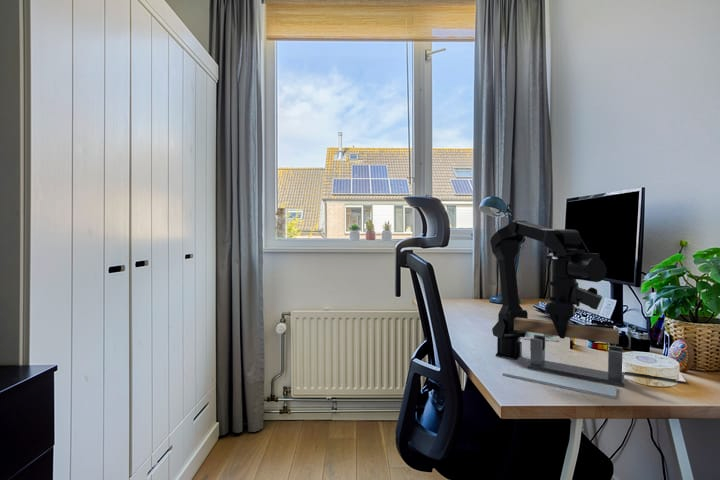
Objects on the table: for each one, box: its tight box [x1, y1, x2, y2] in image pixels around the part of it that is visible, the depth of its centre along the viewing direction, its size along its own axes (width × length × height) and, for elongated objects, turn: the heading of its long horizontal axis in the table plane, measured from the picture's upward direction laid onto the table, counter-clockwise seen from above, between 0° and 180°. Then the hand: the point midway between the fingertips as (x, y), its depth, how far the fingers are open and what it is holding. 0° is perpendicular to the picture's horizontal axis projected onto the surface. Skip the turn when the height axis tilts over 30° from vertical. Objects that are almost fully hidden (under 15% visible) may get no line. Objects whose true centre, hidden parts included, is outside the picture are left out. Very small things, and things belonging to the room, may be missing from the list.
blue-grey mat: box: [502, 365, 618, 400], centre depth 101 cm, size 26×7×1 cm, turn 55°
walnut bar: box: [514, 317, 620, 345], centre depth 100 cm, size 24×3×3 cm, turn 56°
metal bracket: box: [520, 332, 559, 343], centre depth 146 cm, size 14×6×15 cm
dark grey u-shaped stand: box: [527, 335, 625, 387], centre depth 107 cm, size 23×7×8 cm, turn 55°
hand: (563, 336), depth 100 cm, fingers closed on walnut bar, 3 cm apart
